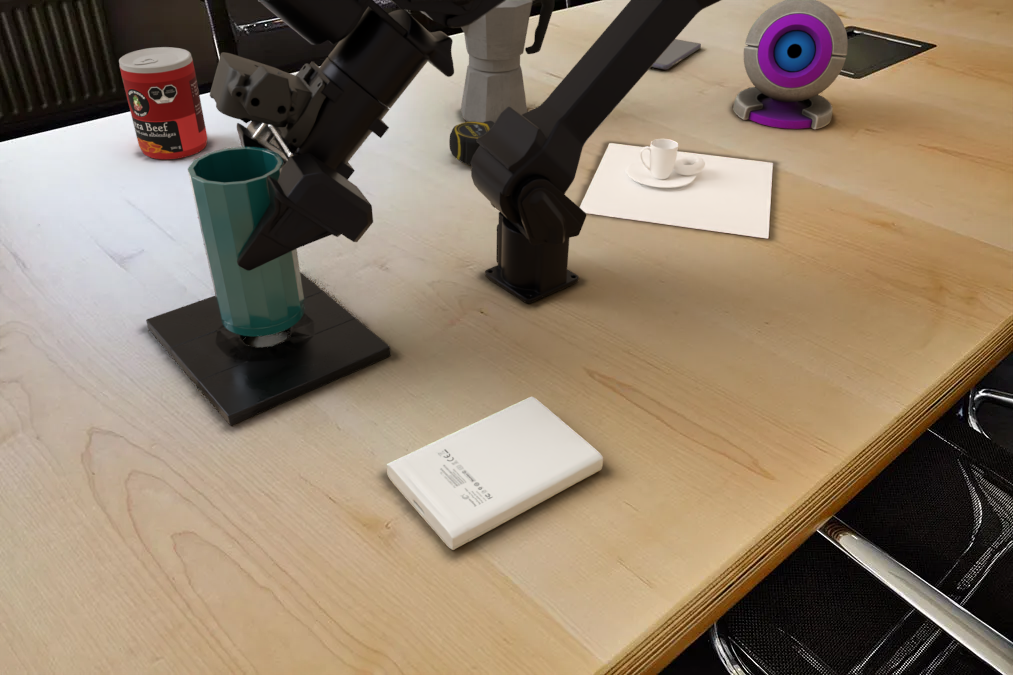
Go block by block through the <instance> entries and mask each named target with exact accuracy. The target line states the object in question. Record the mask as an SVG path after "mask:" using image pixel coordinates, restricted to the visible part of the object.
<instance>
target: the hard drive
mask: <svg viewBox="0 0 1013 675" xmlns="http://www.w3.org/2000/svg"><path fill="white" fill-rule="evenodd" d="M603 465H604V456H603V455H602V453H601V452H600V451H598V450H597V448H595V447H594V446H592V445H591V443H589V442H588V441H587V440H586V439H585V438H583V437H582V436H581V435H580V434H579V433H577V432H576V431H575V430H574V429H573V428H572V427H570V426H569V425H568V424H567V423H566V422H564V421H563V420H562V419H561V418H560V417H559V416H558V415H556V414H555V413H554V412H553V411H552V410H551V409H549V408H548V407H547V406H546V405H544V403H542V402H541V401H540V400H538V399H537V398H536V397H535V396H529V397H527V398H525V399H523V400H520V401H518V402H516V403H514V404H512V405H510V406H507V407H505V408H503V409H501V410H499V411H497V412H494V413H493V414H490V415H488V416H486V417H484V418H482V419H480V420H478V421H476V422H473V423H470V424H469V425H466V426H465V427H462V428H460V429H459V430H456V431H454V432H452V433H450V434H447V435H445V436H443V437H441V438H439V439H437V440H435V441H433V442H431V443H429V444H426V445H424V446H422V447H420V448H418V449H416V450H413V451H412V452H409V453H407V454H405V455H403V456H400V457H398V458H396V459H395V460H392V461H390V462H388V463H386V472H387V473H386V474H387V477H388V479H389V480H390V482H391V483H392V485H394V487H395V488H396V489H397V490H398V491H399V493H400V494H402V496H403V497H404V498H405V499H406V500H407V501H408V503H409V504H410V505H411V506H412V507H413V508H414V510H415V511H416V512H417V513H418V515H420V516H421V518H422V519H423V520H424V521H425V522H426V523H427V525H428V526H429V527H430V528H431V529H432V531H433V532H434V533H435V534H436V535H437V536H438V537H439V538H440V540H441V541H442V542H443V543H444V544H445V546H447V548H449V549H450V550H451V551H454V550H456V549H458V548H460V547H462V546H463V545H465V544H467V543H470V542H472V541H474V540H475V539H477V538H479V537H480V536H482V535H484V534H486V533H488V532H490V531H492V530H494V529H495V528H497V527H499V526H501V525H503V524H505V523H506V522H509V521H510V520H512V519H514V518H516V517H517V516H520V515H521V514H523V513H525V512H527V511H528V510H530V509H532V508H534V507H536V506H538V505H539V504H541V503H543V502H545V501H546V500H548V499H550V498H552V497H554V496H556V495H557V494H559V493H561V492H563V491H565V490H567V489H568V488H570V487H572V486H574V485H576V484H577V483H580V482H582V481H583V480H585V479H587V478H589V477H591V476H593V475H595V474H597V473H598V472H600V471H601V470H602V469H603V467H604V466H603Z"/></svg>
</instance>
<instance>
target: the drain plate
mask: <svg viewBox="0 0 1013 675" xmlns="http://www.w3.org/2000/svg"><path fill="white" fill-rule="evenodd" d="M300 275H301V282H302V288H303V295H304V314H303V316H302V318H301V319H300V320H299V321H298V322H297V323H296V324H295V325H293V326H292V327H290V328H288V329H286V330H284V331H285V332H287V333H288V335H289V336H287V338H285V339H284V340H283V341H281V342H278V343H275V344H273V345H271V346H270V345H269V346H254V345H249V344H246V343H245V342H244V341H245V339H246V338H247V337H248V336H243V335H238V334H235V333H233V332H231V331H229V330H228V329H226V328H225V327H224V325H223V324H222V321H221V316H220V313H219V310H218V306H217V301H216V296H215V295H212V296H210V297H207V298H204V299H201V300H198V301H195V302H192V303H190V304H187V305H183V306H181V307H178V308H175V309H172V310H169V311H166V312H164V313H161V314H158V315H154V316H152V317H149V318H146V320H145V322H146V325H147V329H148V330H149V331H150V332H151V334H152V335H153V336H154V337H155V338H156V340H157V341H158V342H159V343H160V344H161V346H163V348H164V349H165V350H166V351H167V353H168V354H169V355H170V356H171V357H172V359H173V360H174V361H175V362H176V364H178V366H179V368H181V370H183V372H184V373H185V374H186V375H187V377H188V378H189V379H190V380H191V381H192V382H193V383H194V384H195V386H196V387H197V388H198V390H199V391H200V392H201V393H202V394H203V395H204V396H205V397H206V399H207V400H208V401H209V403H211V405H212V406H213V407H214V408H215V409H216V411H217V412H218V413H219V414H220V415H221V416H222V418H223V419H224V420H225V421H226V422H227V424H228V425H229V426H234V425H236V424H238V423H240V422H243V421H245V420H247V419H249V418H251V417H254V416H256V415H258V414H261V413H264V412H266V411H268V410H269V409H270V410H271V409H273V408H275V407H277V406H280V405H282V404H285V403H286V402H288V401H291V400H293V399H296V398H298V397H300V396H302V395H304V394H307V393H309V392H311V391H313V390H316V389H318V388H321V387H322V386H325V385H327V384H330V383H332V382H335V381H336V380H339V379H341V378H344V377H346V376H348V375H351V374H352V373H355V372H357V371H359V370H362V369H364V368H366V367H369V366H370V365H373V364H375V363H377V362H381V361H383V360H385V359H387V358H389V357H391V346H390V345H389V344H388V343H387V342H385V341H384V340H383V339H381V338H380V337H379V336H378V335H377V334H376V333H375V332H373V331H372V330H371V329H370V328H368V327H367V326H366V325H365V324H363V323H362V322H361V321H360V320H359V319H357V318H356V317H355V316H354V315H353V314H351V313H350V311H348V310H346V308H344V307H343V306H342V305H341V304H339V303H338V302H337V301H336V300H335V299H333V298H332V297H331V296H330V295H329V294H328V293H326V292H325V291H324V290H323V289H321V288H320V287H319V286H318V285H317V284H316V283H314V282H313V281H312V280H310V279H309V278H308V277H307V276H306V275H304V274H303V273H302V272H301V271H300Z"/></svg>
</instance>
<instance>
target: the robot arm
mask: <svg viewBox="0 0 1013 675" xmlns="http://www.w3.org/2000/svg"><path fill="white" fill-rule="evenodd" d="M256 1H257V2H259V3H260V4H261V5H262V6H263V7H265V8H266V9H267V10H268V11H270V12H271V13H272V14H274V16H275V17H277V18H278V19H280V20H281V21H282V22H283V23H284V24H286V25H287V26H288V27H289V28H290V29H292V30H293V31H294V32H296V34H298V35H299V36H301V37H302V38H303V39H304V40H305V41H307V42H308V44H310V45H313V46H317V45H318V46H319V45H320V44H321V45H322V44H323V43H325V42H327V41H328V42H329V43H330V44H331V45H335V44H336V43H337V44H336V45H335V47H334V48H333V49H332V51H330V52H329V54H328V57H326V58H325V59H324V61H323V62H322V64H321V65H320V66H319V65H318V64H316V63H315V61H311V62H310V63H306V62H305V63H304V65H302V66H301V68H300V69H299V71H298V72H297V73H296V74H292V73H289V72H287V71H283V70H282V69H279V68H277V67H274V66H271V65H268V64H266V63H265V64H264V63H261V62H258V61H256V60H252V59H249V58H245V57H243V56H240V55H237V54H233V53H230V52H220V55H219V58H218V59H219V60H218V63H217V67H216V70H215V72H214V73H215V74H214V77H213V81H212V84H211V89H210V92H209V97H210V98H211V99H213V100H214V102H215V107H216V110H217V111H218V112H220V113H221V114H223V115H225V116H226V117H228V118H229V117H230V118H233V119H237V120H240V121H242V122H243V123H244V124H248V123H249V124H248V125H247V126H244V125H243V124H242V123H239V122H237V123H236V131H237V133H238V137H239V142H240V147H256V148H265V149H268V150H271V151H273V152H276V153H278V154H279V155H280V157H281V158H282V160H283V161H284V166H283V167H282V169H281V172H280V175H279V179H278V181H276V180H275V179H273V178H272V177H270V176H269V175H268V176H267V182H268V189H269V196H270V204H269V206H268V208H267V210H266V211H265V213H264V215H263V216H262V218H261V220H260V221H259V223H258V225H257V226H256V228H255V230H254V231H253V233H252V235H251V236H250V238H249V240H248V241H247V243H246V245H245V247H244V248H243V250H242V252H241V254H240V256H239V258H238V260H237V264H238V265H239V266H240V267H242V268H243V269H245V270H248V271H250V270H252V269H254V268H256V267H259V266H261V265H263V264H265V263H267V262H269V261H271V260H273V259H276V258H278V257H280V256H282V255H284V254H286V253H288V252H290V251H293V250H295V249H297V250H298V249H299V248H302V247H304V246H307V245H310V244H311V243H314V242H317V241H319V240H322V239H324V238H327V237H330V236H334V237H336V238H339V237H340V236H341V235H342V236H343V237H345V238H346V239H348V240H350V241H351V242H353V243H358V242H359V240H360V239H361V238H362V237H363V236H364V234H365V233H366V232H368V229H369V228H370V227H371V226H372V224H373V223H374V215H373V205H372V204H371V202H370V201H369V200H368V198H367V197H366V196H365V194H364V193H363V192H362V191H361V189H360V187H358V186H357V185H356V184H354V183H353V182H351V181H350V180H349V179H350V177H351V176H352V175H353V174H354V173H355V171H356V170H355V169H354V168H353V166H352V165H351V164H350V163H349V162H350V161H351V159H352V158H353V156H354V155H356V153H357V152H358V151H359V149H360V148H361V146H363V144H364V143H365V141H366V140H367V139H368V138H369V136H370V135H371V134H372V133H373V134H374V135H376V136H377V137H379V138H380V139H381V138H383V136H384V135H385V134H386V133H387V131H388V130H389V128H390V127H389V126H388V125H387V124H386V123H385V122H384V120H383V119H384V118H385V116H387V114H388V112H389V111H390V110H391V108H393V106H394V105H395V104H396V102H397V101H398V99H400V97H401V96H402V95H403V93H404V92H405V91H406V90H407V88H408V87H409V86H410V85H411V83H412V82H413V81H414V80H415V78H416V77H417V76H418V75H419V73H420V72H421V70H422V69H423V68H424V67H425V66H426V64H427V63H429V64H430V65H431V66H433V67H434V68H435V69H436V70H438V71H439V72H441V73H442V74H443V75H444V76H445V77H447V78H451V77H453V75H454V74H455V68H454V60H453V55H452V49H453V48H452V47H453V39H452V37H450V36H449V35H447V34H446V33H445V32H443V31H442V30H437V31H432V32H431V31H429V30H427V29H426V28H425V27H424V26H423V25H422V23H420V22H419V21H418V20H417V19H416V18H415V17H413V15H412V14H410V13H409V12H408V11H414V12H415V11H416V12H420V13H421V14H423V15H424V16H425V17H427V18H429V19H430V20H432V21H433V22H435V23H437V24H439V25H441V26H443V27H447V28H448V29H460V28H461V27H464V26H468V25H470V24H472V23H474V22H475V21H477V20H478V19H480V18H481V17H483V16H484V15H486V14H487V13H488V12H490V11H491V10H493V9H494V8H496V7H497V6H499V5H500V4H501V3H503V2H504V1H506V0H389V1H390V2H391V3H393V4H394V5H396V6H397V7H398V8H399V9H396V10H393V11H391V12H386V11H385V9H383V8H382V7H381V5H379V4H378V3H377V2H376V1H374V0H256ZM721 1H722V0H629V2H628V3H627V4H626V5H625V6H624V7H623V8H622V9H621V11H620V12H619V13H618V15H617V16H616V17H615V18H614V19H613V20H612V22H611V23H609V25H608V26H607V27H606V28H605V30H604V31H603V32H602V33H601V34H600V35H599V37H598V38H597V39H596V40H595V41H594V43H592V44H591V46H590V47H589V49H587V50H586V52H585V53H584V54H583V55H582V56H581V58H580V59H579V60H578V61H577V63H576V64H575V65H574V66H573V67H572V68H571V70H569V72H567V74H566V76H564V78H563V79H562V80H561V81H560V82H559V84H557V86H556V87H555V88H554V89H553V91H552V92H551V93H550V94H549V95H548V96H547V98H546V99H544V101H543V102H542V103H541V104H540V105H538V106H537V107H535V108H533V109H531V110H527V112H526V113H524V114H522V115H521V114H520V113H518V112H517V111H516V110H514V109H513V108H512V107H507V108H506V109H505V110H504V111H503V112H502V113H501V114H500V115H499V117H498V119H497V120H496V122H495V123H494V125H493V126H492V128H491V129H490V130H489V131H488V132H486V133H485V134H484V135H482V136H481V137H479V138H477V140H476V141H477V142H478V143H479V144H480V146H479V147H478V149H477V150H476V152H475V154H474V155H473V157H472V160H471V164H470V166H471V170H470V171H471V172H470V173H471V176H470V177H471V179H472V183H473V185H474V187H475V188H476V189H477V190H478V191H479V193H480V194H482V195H483V196H484V197H485V198H486V199H487V200H488V201H489V203H490V205H491V206H492V207H493V208H495V209H496V210H497V211H498V224H497V225H496V263H497V265H494V266H492V267H489V268H487V269H485V271H484V276H485V278H487V279H489V280H490V281H491V282H493V283H495V284H496V285H497V286H499V287H501V288H502V289H503V290H505V291H506V292H509V293H510V294H512V295H513V296H514V297H516V298H518V299H519V300H521V301H522V302H524V303H526V304H531V303H534V302H537V301H540V300H541V299H543V298H546V297H549V296H550V295H553V294H555V293H557V292H560V291H561V290H563V289H566V288H568V287H570V286H573V285H575V284H577V283H578V282H579V280H580V278H579V275H578V274H576V273H574V272H572V271H571V270H570V269H568V264H569V250H570V249H569V248H570V238H575V237H578V236H579V235H580V233H581V231H582V229H583V226H584V224H585V220H586V219H587V213H585V212H584V211H583V210H582V209H581V208H579V207H580V206H578V205H577V204H576V203H575V202H574V201H573V200H571V199H570V197H568V196H567V195H566V193H567V192H568V190H569V189H570V187H571V185H572V184H573V182H574V181H575V178H576V175H577V172H578V167H579V164H580V160H581V156H582V152H583V148H584V146H585V144H586V143H587V141H588V140H589V139H590V137H591V136H592V135H593V134H594V133H595V132H596V131H597V130H598V129H599V127H600V126H601V125H602V124H603V122H605V120H606V119H607V118H608V117H609V116H610V115H611V113H612V112H613V111H614V110H615V109H616V108H617V107H618V105H620V103H621V102H622V101H623V100H624V98H625V97H626V96H627V95H628V94H629V93H630V91H631V90H632V89H633V88H634V87H635V86H636V85H637V83H638V82H639V81H640V80H641V79H642V78H643V77H644V75H645V74H646V73H647V72H649V70H650V69H651V68H652V67H651V66H652V65H653V64H654V63H655V61H656V60H657V59H658V58H659V57H660V56H661V55H662V53H663V52H664V51H665V50H666V49H667V48H668V47H669V45H670V44H671V43H672V42H673V41H674V40H675V39H677V37H678V36H680V34H681V33H682V32H683V31H684V30H685V28H687V26H688V25H689V24H690V23H691V21H692V20H693V19H694V18H695V17H696V16H697V15H698V14H699V13H700V12H701V11H702V10H705V9H706V8H708V7H710V6H713V5H715V4H717V3H719V2H721Z"/></svg>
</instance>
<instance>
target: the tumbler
mask: <svg viewBox="0 0 1013 675" xmlns="http://www.w3.org/2000/svg"><path fill="white" fill-rule="evenodd" d="M283 166H284V161H283V160H282V158H281V157H280V155H279V154H278V153H276V152H273V151H271V150H268V149H265V148H256V147H241V146H237V147H225V148H222V149H218V150H214V151H210V152H207V153H205V154H203V155H201V156H199V157H197V158H195V159H194V160H193V161H192V162H191V164H190V165H189V166H188V168H187V173H188V177H189V182H190V187H191V192H192V195H193V196H192V197H193V202H194V204H195V205H194V206H195V211H196V213H197V214H196V215H197V219H198V223H199V228H200V233H201V236H202V242H203V246H204V251H205V253H206V254H205V255H206V260H207V264H208V269H209V272H210V277H211V278H210V279H211V284H212V287H213V291H214V296H216V301H217V306H218V310H219V313H220V316H221V321H222V324H223V325H224V327H225V328H226V329H228V330H229V331H231V332H233V333H235V334H238V335H243V336H247V337H252V338H253V337H255V338H256V337H266V336H267V337H268V336H271V335H276V334H280V333H281V332H284V331H285V330H286V329H288V328H290V327H292V326H293V325H295V324H296V323H297V322H298V321H299V320H300V319H301V318H302V316H303V314H304V295H303V288H302V282H301V275H300V272H301V270H300V263H299V256H298V248H297V249H295V250H293V251H290V252H288V253H286V254H284V255H282V256H280V257H278V258H276V259H273V260H271V261H269V262H267V263H265V264H263V265H261V266H259V267H256V268H254V269H252V270H250V271H248V270H245V269H243V268H242V267H240V266H239V265H238V264H237V260H238V258H239V256H240V254H241V252H242V250H243V248H244V247H245V245H246V243H247V241H248V240H249V238H250V236H251V235H252V233H253V231H254V230H255V228H256V226H257V225H258V223H259V221H260V220H261V218H262V216H263V215H264V213H265V211H266V210H267V208H268V206H269V204H270V196H269V189H268V182H267V176H268V175H269V176H270V177H272V178H273V179H275V180H276V181H278V179H279V175H280V172H281V169H282V167H283Z"/></svg>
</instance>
